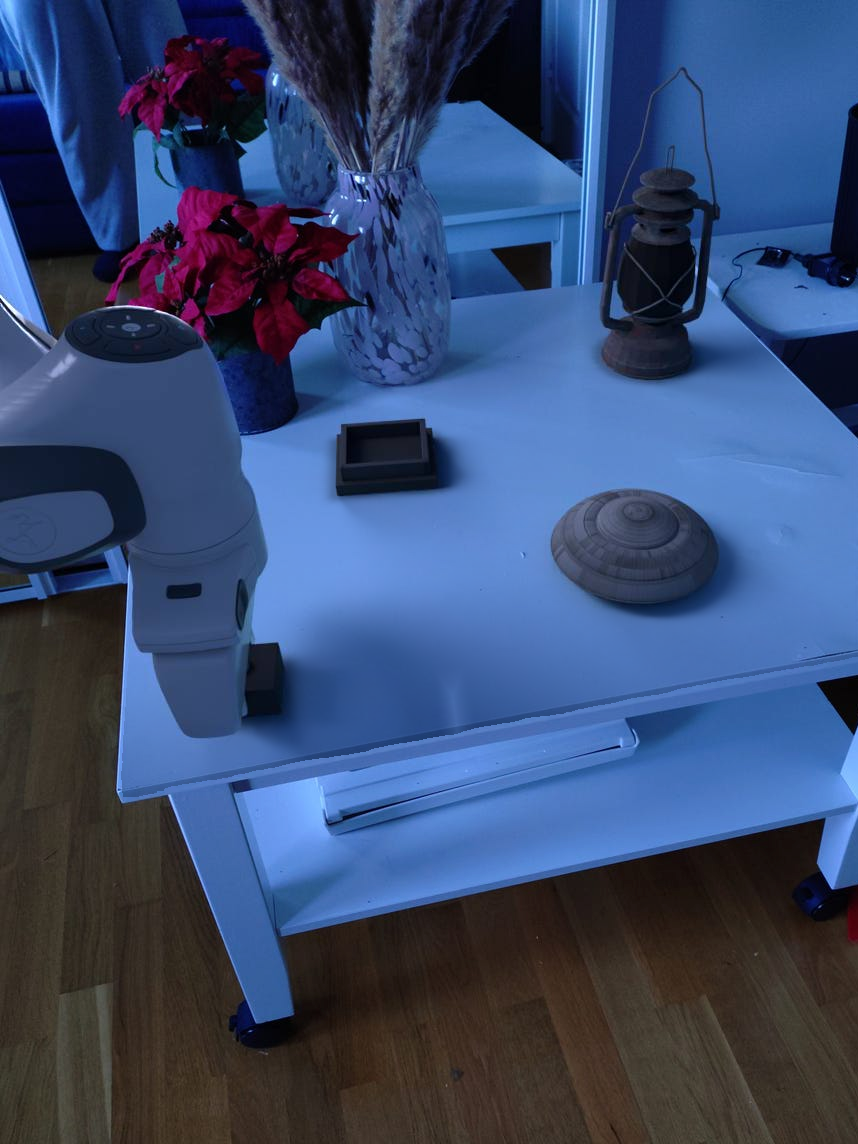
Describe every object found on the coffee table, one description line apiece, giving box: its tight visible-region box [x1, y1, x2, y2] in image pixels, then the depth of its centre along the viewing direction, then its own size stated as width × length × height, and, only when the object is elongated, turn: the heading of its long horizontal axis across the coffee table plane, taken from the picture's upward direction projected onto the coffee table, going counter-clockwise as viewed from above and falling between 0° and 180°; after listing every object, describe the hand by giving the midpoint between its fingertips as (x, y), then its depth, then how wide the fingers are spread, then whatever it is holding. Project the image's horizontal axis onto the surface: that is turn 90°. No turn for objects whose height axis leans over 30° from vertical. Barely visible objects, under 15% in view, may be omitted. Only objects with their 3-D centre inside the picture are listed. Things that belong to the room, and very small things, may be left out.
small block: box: [242, 641, 285, 718], centre depth 73 cm, size 6×5×3 cm
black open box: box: [335, 418, 439, 496], centre depth 94 cm, size 10×9×3 cm
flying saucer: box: [550, 488, 720, 605], centre depth 83 cm, size 15×15×6 cm
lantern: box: [599, 66, 721, 380], centre depth 98 cm, size 12×11×30 cm
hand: (240, 679), depth 73 cm, fingers closed on small block, 5 cm apart
